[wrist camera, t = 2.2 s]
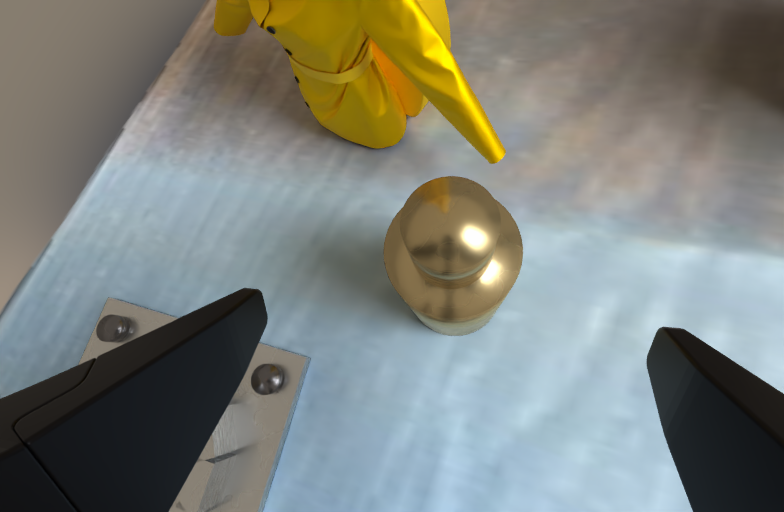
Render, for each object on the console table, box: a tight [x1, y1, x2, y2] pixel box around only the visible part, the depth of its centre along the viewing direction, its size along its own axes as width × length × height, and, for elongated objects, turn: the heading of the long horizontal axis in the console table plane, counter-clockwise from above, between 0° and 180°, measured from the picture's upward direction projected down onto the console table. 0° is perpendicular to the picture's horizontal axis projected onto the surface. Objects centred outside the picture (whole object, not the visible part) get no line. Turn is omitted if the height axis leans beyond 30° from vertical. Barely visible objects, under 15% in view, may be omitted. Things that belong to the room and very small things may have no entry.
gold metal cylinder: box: [384, 176, 523, 336], centre depth 15 cm, size 4×4×10 cm
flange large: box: [79, 297, 311, 512], centre depth 18 cm, size 12×12×2 cm
